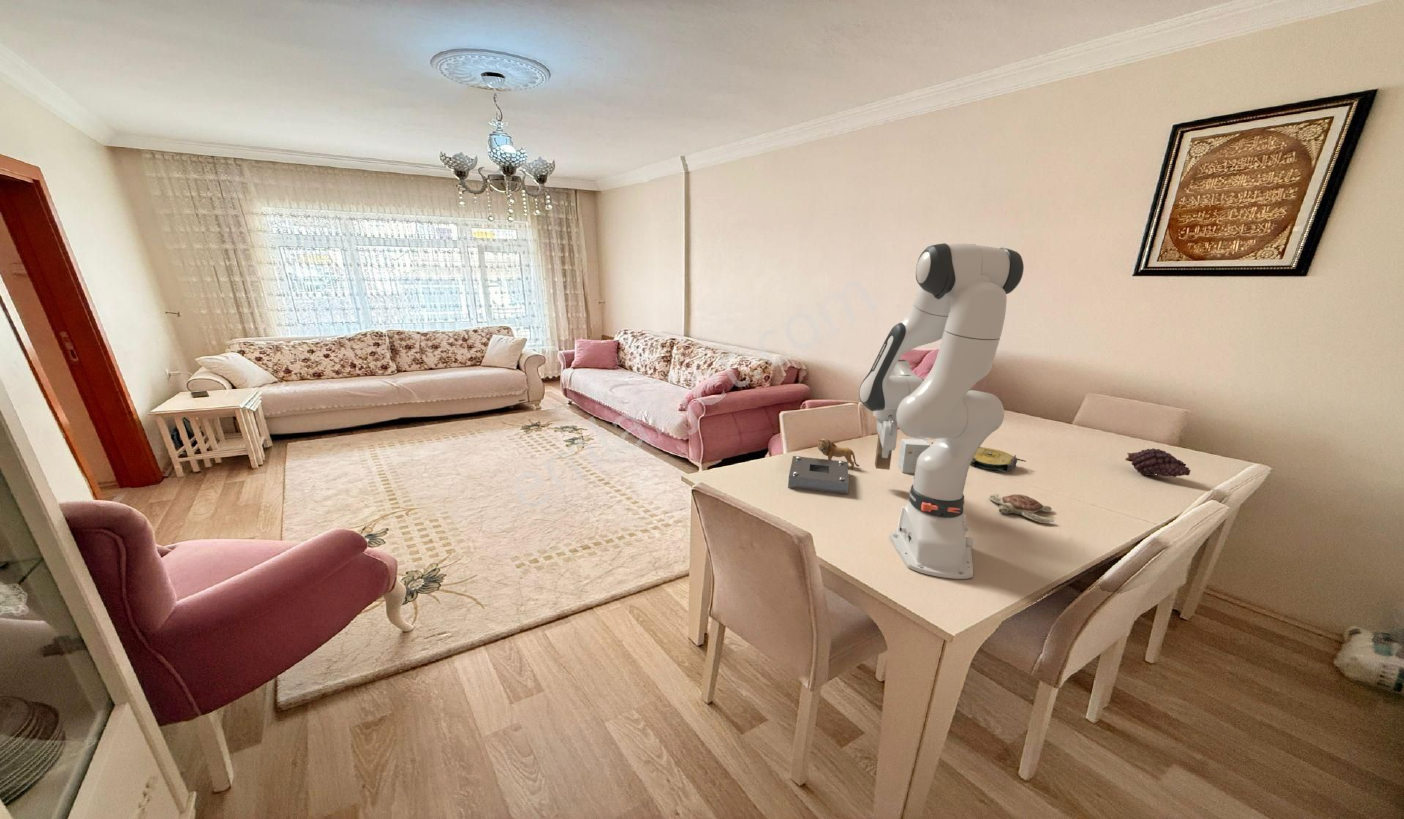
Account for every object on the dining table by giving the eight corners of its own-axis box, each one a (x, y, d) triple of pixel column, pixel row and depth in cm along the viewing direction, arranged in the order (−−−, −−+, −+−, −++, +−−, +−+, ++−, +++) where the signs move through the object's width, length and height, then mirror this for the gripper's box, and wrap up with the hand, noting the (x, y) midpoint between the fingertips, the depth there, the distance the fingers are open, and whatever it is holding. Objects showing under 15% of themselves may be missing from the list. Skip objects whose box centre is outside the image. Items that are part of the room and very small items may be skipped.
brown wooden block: (889, 469, 153) (893, 439, 150) (875, 468, 154) (879, 437, 151) (888, 465, 156) (891, 435, 154) (874, 463, 157) (878, 433, 155)
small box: (920, 468, 172) (925, 439, 170) (926, 474, 167) (930, 445, 164) (897, 466, 173) (901, 438, 170) (901, 473, 168) (905, 443, 165)
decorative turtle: (971, 502, 148) (974, 487, 147) (1010, 494, 154) (1013, 480, 152) (1028, 531, 132) (1032, 514, 130) (1070, 521, 137) (1074, 505, 136)
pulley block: (942, 430, 194) (1028, 452, 172) (941, 443, 196) (1026, 466, 174) (924, 442, 186) (1012, 467, 164) (923, 456, 188) (1010, 482, 166)
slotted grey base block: (847, 495, 150) (849, 481, 149) (787, 487, 154) (788, 474, 153) (846, 472, 167) (847, 460, 166) (792, 466, 171) (793, 454, 170)
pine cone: (1191, 484, 164) (1200, 455, 161) (1177, 489, 160) (1186, 460, 157) (1128, 465, 179) (1135, 439, 176) (1114, 469, 175) (1121, 443, 172)
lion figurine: (815, 464, 174) (817, 440, 171) (817, 459, 178) (819, 435, 176) (859, 470, 169) (861, 445, 167) (859, 464, 174) (862, 440, 172)
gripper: (904, 421, 140) (898, 467, 143) (895, 404, 159) (890, 445, 163) (881, 419, 141) (875, 465, 145) (875, 402, 160) (870, 443, 164)
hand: (883, 454), depth 154 cm, fingers closed on brown wooden block, 4 cm apart
